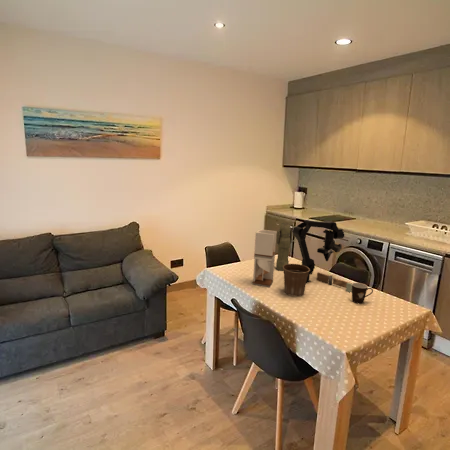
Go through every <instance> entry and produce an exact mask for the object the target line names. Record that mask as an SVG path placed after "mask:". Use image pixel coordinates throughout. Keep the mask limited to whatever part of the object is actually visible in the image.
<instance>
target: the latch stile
mask: <svg viewBox="0 0 450 450" xmlns="http://www.w3.org/2000/svg"><path fill="white" fill-rule="evenodd" d="M351 283H352V282H350V283H347V285H346V288H345V292H347V293H350V292H351V293H352V284H351Z"/></svg>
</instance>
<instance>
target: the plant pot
mask: <svg viewBox="0 0 450 450" xmlns="http://www.w3.org/2000/svg"><path fill="white" fill-rule="evenodd" d="M283 269H284V271H283V275H284V276H283V282H284V283H283V284H284V285H283V286H284V287H283V289H284V293H286V295H288V296H292V297H299V296H304V295H305V292H306V291H305V290H306V284H307V283H306V280H307V277H308V273H309V271H310V269H309V268H308V267H306V266H304V265H302V264H298V263H289V264H286V265H284V266H283Z"/></svg>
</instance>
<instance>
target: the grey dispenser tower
mask: <svg viewBox="0 0 450 450" xmlns="http://www.w3.org/2000/svg"><path fill="white" fill-rule="evenodd" d="M277 231H278V230H268V229H258V230H257V231H256V232H255V234H254V235H255V236H254V237H255V239H254V251H253V253H254V254H253V260H254V261H253V263H254V264H253V274H252V275H253V278H252V286H257V287H263V288H271V286H272V285H273V283H274V273H275V270H274V269H275V260H276V259H275V257H276V244H277Z"/></svg>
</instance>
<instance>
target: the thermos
mask: <svg viewBox="0 0 450 450" xmlns="http://www.w3.org/2000/svg"><path fill="white" fill-rule="evenodd" d="M276 231H277V233H276V244H277V259H276V262H275V263H276V264H275V265H276V267H275V268H276V271H280V272H284V269H283V266H284V265H286V264H290V263H289V262H290V261H289V253H290V247H291V243H292V241H293V229H291V224H290V223H288V222H283V223H281V225H280V226H279V229H278V230H276Z"/></svg>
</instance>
